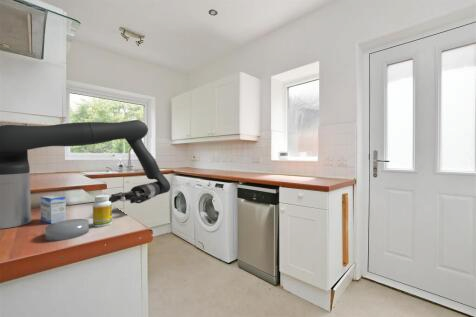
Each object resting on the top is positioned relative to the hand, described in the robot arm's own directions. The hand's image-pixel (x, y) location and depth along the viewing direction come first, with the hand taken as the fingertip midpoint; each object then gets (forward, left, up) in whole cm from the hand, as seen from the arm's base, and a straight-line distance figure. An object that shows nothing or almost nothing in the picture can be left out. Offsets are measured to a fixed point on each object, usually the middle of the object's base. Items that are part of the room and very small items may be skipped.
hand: (120, 200), depth 82 cm
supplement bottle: (0, -10, -6) cm, 11 cm away
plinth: (-4, -19, -6) cm, 20 cm away
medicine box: (-21, -7, -6) cm, 23 cm away
